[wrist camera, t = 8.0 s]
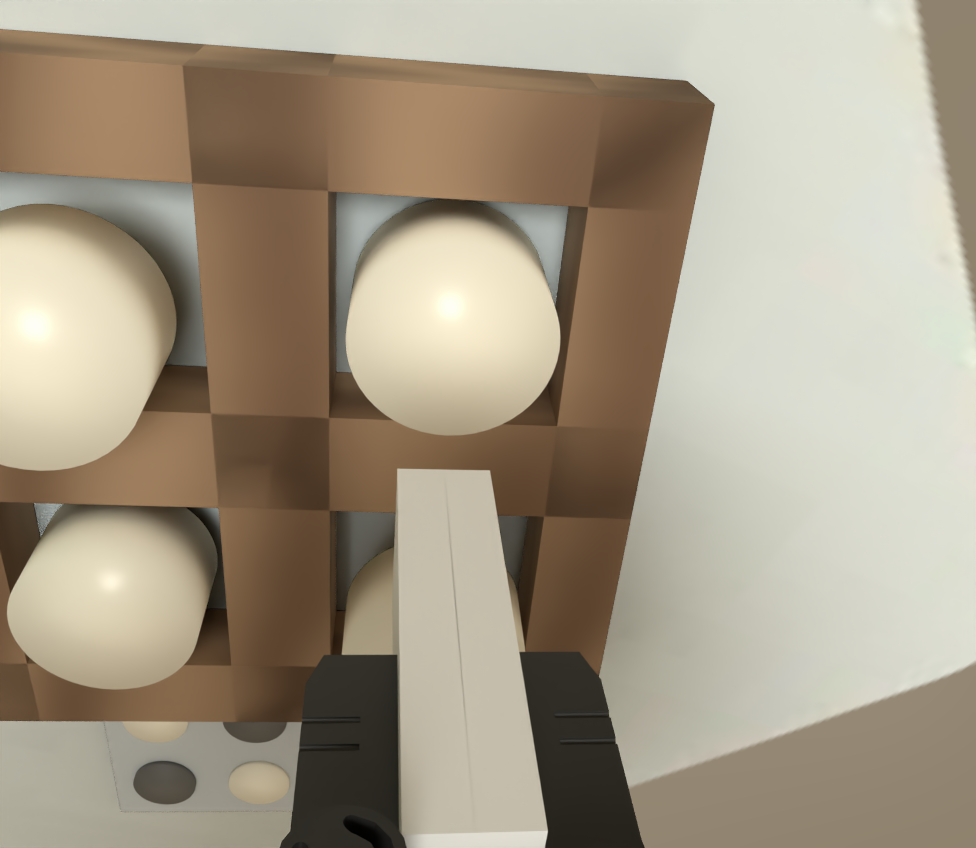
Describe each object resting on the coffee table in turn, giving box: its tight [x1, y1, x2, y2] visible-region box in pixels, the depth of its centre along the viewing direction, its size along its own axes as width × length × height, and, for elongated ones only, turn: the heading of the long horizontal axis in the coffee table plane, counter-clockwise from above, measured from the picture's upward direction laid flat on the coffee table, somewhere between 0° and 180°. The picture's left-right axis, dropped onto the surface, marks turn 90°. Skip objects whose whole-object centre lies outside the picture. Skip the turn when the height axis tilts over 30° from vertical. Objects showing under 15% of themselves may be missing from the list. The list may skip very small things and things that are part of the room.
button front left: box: [0, 204, 177, 471], centre depth 20 cm, size 5×5×3 cm
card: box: [104, 721, 302, 812], centre depth 34 cm, size 7×7×1 cm
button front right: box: [346, 199, 560, 436], centre depth 23 cm, size 5×5×3 cm
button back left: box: [7, 504, 217, 690], centre depth 27 cm, size 5×5×3 cm
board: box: [0, 29, 715, 722], centre depth 26 cm, size 20×20×2 cm
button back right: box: [342, 547, 525, 655], centre depth 26 cm, size 5×5×3 cm
